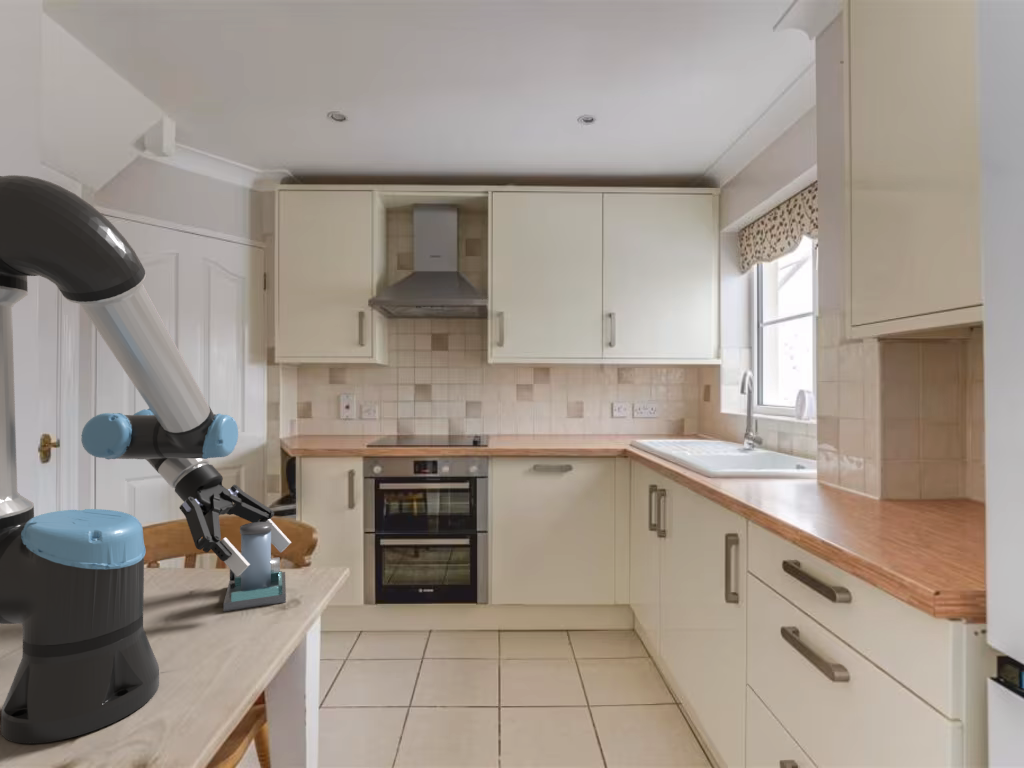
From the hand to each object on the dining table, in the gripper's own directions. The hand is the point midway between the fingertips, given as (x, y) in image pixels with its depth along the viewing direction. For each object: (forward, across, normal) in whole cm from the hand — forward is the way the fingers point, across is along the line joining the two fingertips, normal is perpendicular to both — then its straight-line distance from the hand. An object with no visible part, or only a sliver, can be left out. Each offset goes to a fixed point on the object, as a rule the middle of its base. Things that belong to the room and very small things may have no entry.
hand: (266, 558), depth 98 cm
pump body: (+3, 0, -6) cm, 6 cm away
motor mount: (+3, -2, -7) cm, 8 cm away
